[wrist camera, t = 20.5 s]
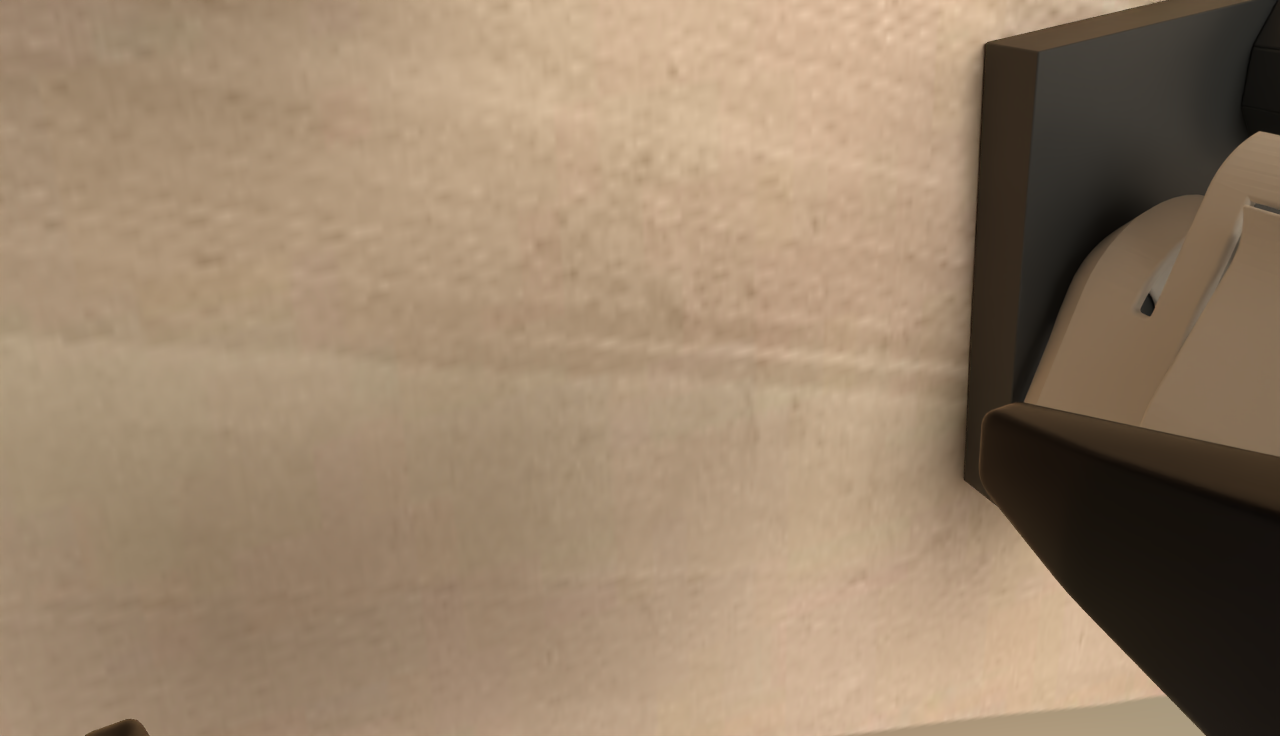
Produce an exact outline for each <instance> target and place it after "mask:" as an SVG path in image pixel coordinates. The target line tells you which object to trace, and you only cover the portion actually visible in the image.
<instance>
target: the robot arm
mask: <svg viewBox="0 0 1280 736" xmlns="http://www.w3.org/2000/svg"><path fill="white" fill-rule="evenodd" d="M979 475H980V479H981V482H982V485H983V487H984V489H985V490H986V492H987V493H988V495H989V496H990V497H991V499H992V500H993V501H994V502H995V504H996V505H997V506H998V507H999V509H1000V510H1001V511H1002V512H1003V514H1004V515H1005V516H1006V517H1007V519H1008V520H1009V521H1010V522H1011V524H1012V525H1013V526H1014V527H1015V529H1016V530H1017V531H1018V532H1019V534H1020V535H1021V536H1022V537H1023V539H1024V540H1025V541H1026V542H1027V544H1028V545H1029V546H1030V547H1031V549H1032V550H1033V551H1034V552H1035V554H1036V555H1037V556H1038V557H1039V559H1040V560H1041V561H1042V562H1043V564H1044V565H1045V566H1046V567H1047V569H1048V570H1049V571H1050V572H1051V574H1052V575H1053V576H1054V577H1055V579H1056V580H1057V581H1058V582H1059V583H1060V584H1061V586H1062V587H1063V588H1064V589H1065V590H1066V592H1067V593H1068V594H1069V595H1070V596H1071V597H1072V598H1073V599H1074V600H1075V601H1076V602H1077V603H1078V605H1079V606H1080V607H1081V608H1082V609H1083V610H1084V611H1085V612H1086V613H1087V614H1088V615H1089V616H1090V617H1091V618H1092V619H1093V620H1094V621H1095V622H1096V623H1097V624H1098V625H1099V626H1100V627H1101V628H1102V629H1103V630H1104V631H1105V633H1106V634H1107V635H1108V636H1109V637H1110V638H1111V639H1112V640H1113V641H1114V642H1115V643H1116V644H1117V645H1118V646H1119V647H1120V648H1121V649H1122V650H1123V651H1124V652H1125V653H1126V654H1127V655H1128V656H1129V657H1130V658H1131V659H1132V660H1133V661H1134V662H1135V663H1136V664H1137V665H1138V666H1139V667H1140V668H1141V669H1142V671H1143V672H1144V673H1145V674H1146V675H1147V676H1148V677H1149V678H1150V679H1151V680H1152V681H1153V682H1154V683H1155V684H1156V685H1157V686H1158V687H1159V688H1160V689H1161V690H1162V691H1163V692H1164V693H1165V694H1166V695H1167V696H1168V697H1169V698H1170V699H1171V700H1172V701H1173V702H1174V703H1175V704H1176V705H1177V706H1178V707H1179V708H1180V710H1181V711H1182V712H1183V713H1184V714H1185V715H1186V716H1187V717H1188V718H1189V719H1190V720H1191V721H1192V722H1193V723H1194V724H1195V725H1196V726H1197V727H1198V728H1199V729H1200V730H1201V731H1202V732H1203V733H1204V734H1205V735H1206V736H1280V457H1279V456H1274V455H1270V454H1265V453H1260V452H1256V451H1251V450H1246V449H1241V448H1237V447H1232V446H1227V445H1223V444H1218V443H1213V442H1208V441H1204V440H1199V439H1194V438H1190V437H1185V436H1180V435H1175V434H1171V433H1166V432H1161V431H1157V430H1152V429H1147V428H1142V427H1138V426H1133V425H1128V424H1124V423H1119V422H1114V421H1109V420H1105V419H1100V418H1095V417H1091V416H1086V415H1081V414H1076V413H1072V412H1067V411H1062V410H1058V409H1053V408H1048V407H1044V406H1039V405H1034V404H1029V403H1025V402H1014V403H1011V404H1008V405H1005V406H1002V407H999V408H997V409H994V410H991V411H989V412H988V413H987V414H986V415H985V416H984V418H983V420H982V425H981V441H980V458H979ZM85 736H149V734H148V732H147V731H146V729H145V728H144V726H143V725H142V724H141V723H140V722H139V721H138V720H135V719H125V720H123V721H120V722H117V723H114V724H111V725H109V726H106V727H103V728H100V729H97V730H95V731H92V732H90V733H88V734H86V735H85Z"/></svg>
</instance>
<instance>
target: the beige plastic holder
mask: <svg viewBox="0 0 1280 736" xmlns="http://www.w3.org/2000/svg"><path fill="white" fill-rule="evenodd" d="M1255 203H1257V204H1261V205H1264V206H1268V207H1271V208H1275V209H1278V210H1280V135H1275V134H1271V133H1266V132H1261V131H1259V132H1257V133H1255V134H1253V135H1252V136H1250V137H1249V138H1247V139H1246V140H1245V141H1243V142H1242V143H1241V144H1240V145H1239V146H1238V147H1237V148H1236V149H1235V150H1234V151H1233V152H1232V153H1231V154H1230V155H1229V156H1228V157H1227V159H1226V160H1225V161H1224V162H1223V164H1222V165H1221V166H1220V168H1219V169H1218V171H1217V172H1216V174H1215V176H1214V177H1213V179H1212V181H1211V183H1210V185H1209V187H1208V189H1207V191H1206V194H1205V196H1203V195H1184V196H1179V197H1175V198H1172V199H1169V200H1167V201H1164V202H1162V203H1160V204H1158V205H1156V206H1154V207H1152V208H1151V209H1149V210H1147V211H1146V212H1144V213H1142V214H1141V215H1139V216H1137V217H1136V218H1134V219H1133V220H1131V221H1129V222H1128V223H1126V224H1125V225H1123V226H1121V227H1120V228H1118V229H1117V230H1115V231H1114V232H1112V233H1111V234H1110V235H1108V236H1107V237H1106V238H1105V239H1103V240H1102V241H1101V242H1100V243H1099V244H1098V245H1097V246H1096V247H1095V248H1094V249H1093V250H1092V251H1091V252H1090V253H1089V254H1088V256H1087V257H1086V258H1085V259H1084V261H1083V262H1082V263H1081V265H1080V267H1079V268H1078V270H1077V272H1076V273H1075V275H1074V277H1073V279H1072V281H1071V283H1070V285H1069V288H1068V290H1067V293H1066V295H1065V298H1064V300H1063V303H1062V305H1061V308H1060V310H1059V313H1058V315H1057V318H1056V321H1055V324H1054V327H1053V330H1052V333H1051V335H1050V338H1049V341H1048V343H1047V346H1046V348H1045V351H1044V353H1043V356H1042V358H1041V361H1040V363H1039V365H1038V368H1037V370H1036V373H1035V375H1034V378H1033V380H1032V383H1031V385H1030V388H1029V390H1028V393H1027V395H1026V398H1025V400H1024V402H1025V403H1029V404H1034V405H1039V406H1044V407H1048V408H1053V409H1058V410H1062V411H1067V412H1072V413H1076V414H1081V415H1086V416H1091V417H1095V418H1100V419H1105V420H1109V421H1114V422H1119V423H1124V424H1128V425H1133V426H1138V427H1142V428H1147V429H1152V430H1157V431H1161V432H1166V433H1171V434H1175V435H1180V436H1185V437H1190V438H1194V439H1199V440H1204V441H1208V442H1213V443H1218V444H1223V445H1227V446H1232V447H1237V448H1241V449H1246V450H1251V451H1256V452H1260V453H1265V454H1270V455H1274V456H1279V457H1280V215H1279V214H1276V213H1272V212H1269V211H1265V210H1262V209H1259V208H1255V207H1254V205H1255ZM1148 293H1149V294H1150V295H1151V297H1152V299H1153V301H1154V305H1155V308H1154V311H1153V313H1152V315H1151V316H1150V317H1149V316H1147V315H1145V314H1143V313H1141V310H1140V309H1141V306H1142V304H1143V302H1144V300H1145V299H1146V297H1147V295H1148Z"/></svg>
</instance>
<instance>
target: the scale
mask: <svg viewBox="0 0 1280 736" xmlns="http://www.w3.org/2000/svg"><path fill="white" fill-rule="evenodd" d="M1259 131H1261V132H1266V133H1271V134H1275V135H1280V0H1166V1H1162V2H1158V3H1153V4H1149V5H1145V6H1140V7H1136V8H1132V9H1128V10H1123V11H1119V12H1115V13H1111V14H1106V15H1102V16H1098V17H1093V18H1089V19H1085V20H1081V21H1076V22H1072V23H1068V24H1064V25H1059V26H1055V27H1051V28H1046V29H1042V30H1038V31H1034V32H1029V33H1025V34H1021V35H1017V36H1012V37H1008V38H1004V39H999V40H995V41H991V42H987V43H986V52H985V72H984V92H983V112H982V132H981V152H980V172H979V192H978V212H977V232H976V252H975V272H974V292H973V312H972V332H971V352H970V372H969V392H968V412H967V432H966V452H965V472H964V480H965V481H966V482H967V483H969V484H970V485H971V486H972V487H974V488H975V489H976V490H977V491H979V492H980V493H981V494H982V495H984V496H985V497H986V498H987V499H989V500H990V501H991V502H992V503H994V504H995V502H994V501H993V500H992V499H991V497H990V496H989V495H988V493H987V492H986V490H985V489H984V487H983V485H982V482H981V479H980V475H979V458H980V441H981V425H982V420H983V418H984V416H985V415H986V414H987V413H988V412H989V411H991V410H994V409H997V408H999V407H1002V406H1005V405H1008V404H1011V403H1014V402H1024V400H1025V398H1026V395H1027V393H1028V390H1029V388H1030V385H1031V383H1032V380H1033V378H1034V375H1035V373H1036V370H1037V368H1038V365H1039V363H1040V361H1041V358H1042V356H1043V353H1044V351H1045V348H1046V346H1047V343H1048V341H1049V338H1050V335H1051V333H1052V330H1053V327H1054V324H1055V321H1056V318H1057V315H1058V313H1059V310H1060V308H1061V305H1062V303H1063V300H1064V298H1065V295H1066V293H1067V290H1068V288H1069V285H1070V283H1071V281H1072V279H1073V277H1074V275H1075V273H1076V272H1077V270H1078V268H1079V267H1080V265H1081V263H1082V262H1083V261H1084V259H1085V258H1086V257H1087V256H1088V254H1089V253H1090V252H1091V251H1092V250H1093V249H1094V248H1095V247H1096V246H1097V245H1098V244H1099V243H1100V242H1101V241H1102V240H1103V239H1105V238H1106V237H1107V236H1108V235H1110V234H1111V233H1112V232H1114V231H1115V230H1117V229H1118V228H1120V227H1121V226H1123V225H1125V224H1126V223H1128V222H1129V221H1131V220H1133V219H1134V218H1136V217H1137V216H1139V215H1141V214H1142V213H1144V212H1146V211H1147V210H1149V209H1151V208H1152V207H1154V206H1156V205H1158V204H1160V203H1162V202H1164V201H1167V200H1169V199H1172V198H1175V197H1179V196H1184V195H1203V196H1205V194H1206V191H1207V189H1208V187H1209V185H1210V183H1211V181H1212V179H1213V177H1214V176H1215V174H1216V172H1217V171H1218V169H1219V168H1220V166H1221V165H1222V164H1223V162H1224V161H1225V160H1226V159H1227V157H1228V156H1229V155H1230V154H1231V153H1232V152H1233V151H1234V150H1235V149H1236V148H1237V147H1238V146H1239V145H1240V144H1241V143H1242V142H1243V141H1245V140H1246V139H1247V138H1249V137H1250V136H1252V135H1253V134H1255V133H1257V132H1259ZM1254 207H1255V208H1259V209H1262V210H1265V211H1269V212H1272V213H1276V214H1279V215H1280V210H1278V209H1275V208H1271V207H1268V206H1264V205H1261V204H1257V203H1255V205H1254ZM1154 308H1155V305H1154V301H1153V299H1152V297H1151V295H1150V294H1149V293H1148V295H1147V297H1146V299H1145V300H1144V302H1143V304H1142V306H1141V309H1140V310H1141V313H1143V314H1145V315H1147V316H1149V317H1150V316H1151V315H1152V313H1153V311H1154ZM995 505H996V504H995ZM996 506H997V505H996Z"/></svg>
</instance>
